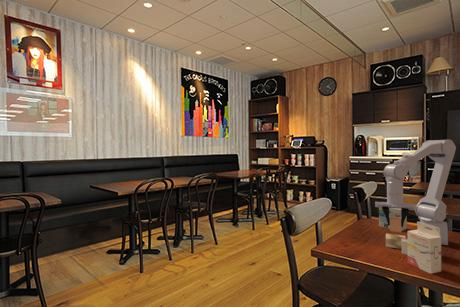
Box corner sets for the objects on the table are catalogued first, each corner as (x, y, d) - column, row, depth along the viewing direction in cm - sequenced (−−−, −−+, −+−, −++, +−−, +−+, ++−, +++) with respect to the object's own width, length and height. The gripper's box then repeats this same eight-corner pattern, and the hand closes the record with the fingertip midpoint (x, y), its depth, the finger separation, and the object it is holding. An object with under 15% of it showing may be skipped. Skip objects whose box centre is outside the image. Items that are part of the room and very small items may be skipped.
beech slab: (405, 244, 112) (405, 235, 112) (406, 249, 106) (405, 240, 106) (386, 241, 116) (385, 233, 116) (385, 246, 110) (385, 238, 110)
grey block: (413, 252, 104) (413, 239, 104) (414, 256, 100) (414, 242, 100) (401, 250, 106) (401, 238, 106) (401, 254, 102) (401, 241, 102)
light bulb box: (378, 226, 137) (378, 205, 137) (384, 224, 141) (384, 203, 141) (401, 231, 128) (401, 209, 128) (407, 228, 132) (407, 207, 132)
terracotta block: (400, 229, 112) (400, 217, 112) (401, 232, 108) (401, 219, 108) (389, 228, 114) (389, 216, 114) (389, 230, 110) (389, 218, 110)
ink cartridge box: (406, 263, 94) (406, 222, 94) (417, 261, 95) (416, 220, 95) (431, 274, 86) (430, 229, 86) (442, 271, 87) (441, 227, 87)
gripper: (374, 193, 111) (375, 225, 111) (416, 196, 103) (417, 230, 104) (375, 191, 117) (375, 221, 117) (415, 193, 109) (415, 225, 110)
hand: (395, 225), depth 111 cm, fingers closed on terracotta block, 4 cm apart
